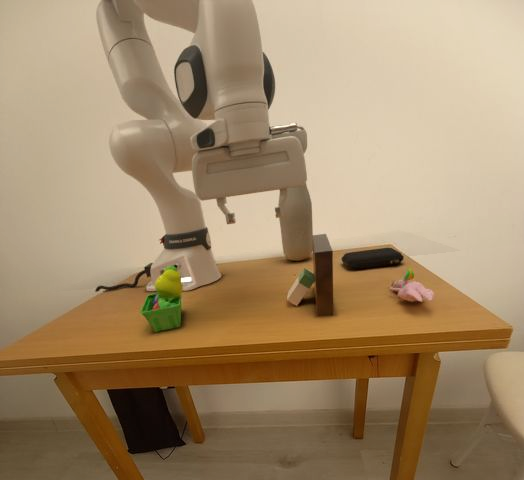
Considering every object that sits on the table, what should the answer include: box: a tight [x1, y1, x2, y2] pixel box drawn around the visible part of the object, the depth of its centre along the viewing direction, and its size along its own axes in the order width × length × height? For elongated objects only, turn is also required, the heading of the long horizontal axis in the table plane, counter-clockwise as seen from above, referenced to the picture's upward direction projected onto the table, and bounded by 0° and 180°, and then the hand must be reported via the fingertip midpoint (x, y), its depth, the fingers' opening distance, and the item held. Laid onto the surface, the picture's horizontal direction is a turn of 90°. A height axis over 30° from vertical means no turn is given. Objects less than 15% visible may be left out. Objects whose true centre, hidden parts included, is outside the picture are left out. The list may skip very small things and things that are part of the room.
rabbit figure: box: [389, 268, 435, 303], centre depth 56 cm, size 6×6×15 cm
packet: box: [286, 267, 315, 307], centre depth 62 cm, size 6×5×7 cm
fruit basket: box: [140, 266, 183, 333], centre depth 61 cm, size 11×9×11 cm
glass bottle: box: [277, 182, 314, 262], centre depth 87 cm, size 10×10×28 cm
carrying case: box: [341, 247, 405, 271], centre depth 79 cm, size 11×3×15 cm
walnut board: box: [312, 233, 334, 317], centre depth 60 cm, size 3×16×12 cm, turn 174°
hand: (255, 220), depth 56 cm, fingers open, 8 cm apart
